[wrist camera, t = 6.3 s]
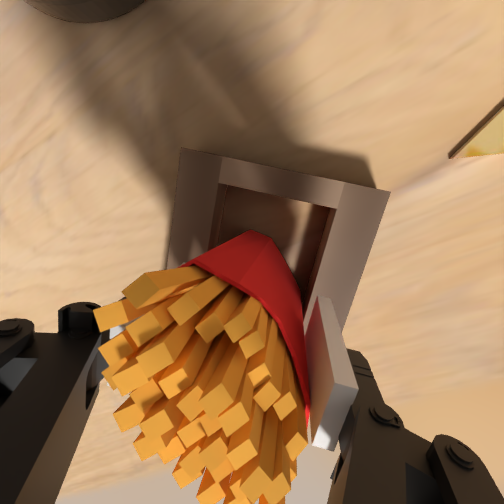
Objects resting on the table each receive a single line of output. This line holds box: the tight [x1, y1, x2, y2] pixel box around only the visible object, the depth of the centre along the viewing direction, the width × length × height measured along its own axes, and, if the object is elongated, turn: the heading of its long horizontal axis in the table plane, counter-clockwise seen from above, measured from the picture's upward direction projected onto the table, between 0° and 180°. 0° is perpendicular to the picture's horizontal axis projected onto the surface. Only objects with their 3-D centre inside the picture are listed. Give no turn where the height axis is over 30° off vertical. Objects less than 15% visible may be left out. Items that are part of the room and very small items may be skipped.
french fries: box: [93, 229, 311, 504], centre depth 13 cm, size 9×4×13 cm, turn 29°
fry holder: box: [167, 147, 391, 336], centre depth 19 cm, size 12×15×2 cm
